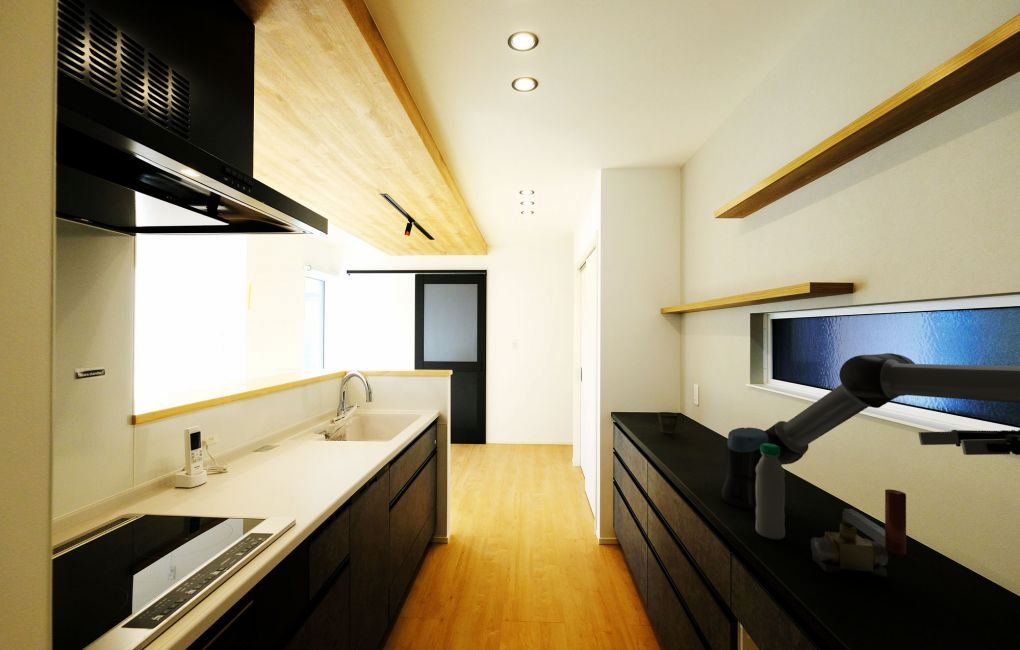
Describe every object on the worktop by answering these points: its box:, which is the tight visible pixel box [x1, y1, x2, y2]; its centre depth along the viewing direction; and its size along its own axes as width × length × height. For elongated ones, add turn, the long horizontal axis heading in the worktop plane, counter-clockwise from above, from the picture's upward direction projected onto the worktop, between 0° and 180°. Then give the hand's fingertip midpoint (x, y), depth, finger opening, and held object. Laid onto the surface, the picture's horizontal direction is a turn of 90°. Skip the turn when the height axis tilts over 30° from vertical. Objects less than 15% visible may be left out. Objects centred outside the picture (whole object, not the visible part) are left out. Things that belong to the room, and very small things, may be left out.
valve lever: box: [841, 488, 907, 556], centre depth 94 cm, size 18×3×14 cm, turn 172°
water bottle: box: [754, 443, 786, 540], centre depth 119 cm, size 7×7×25 cm
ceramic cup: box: [657, 411, 683, 434], centre depth 232 cm, size 13×10×10 cm
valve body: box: [810, 522, 889, 578], centre depth 102 cm, size 14×6×10 cm, turn 82°
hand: (940, 442), depth 88 cm, fingers open, 13 cm apart
